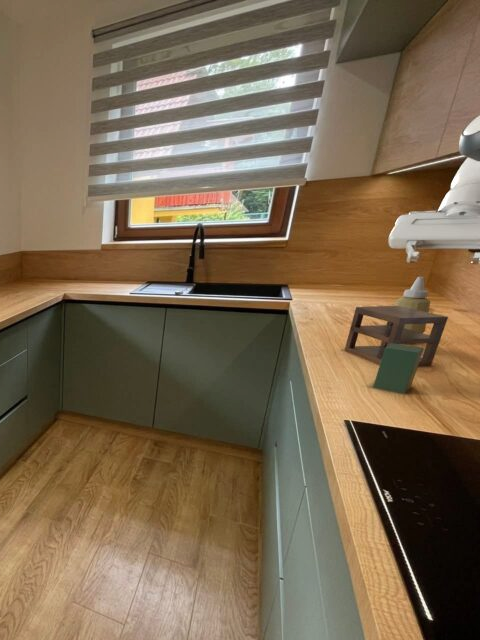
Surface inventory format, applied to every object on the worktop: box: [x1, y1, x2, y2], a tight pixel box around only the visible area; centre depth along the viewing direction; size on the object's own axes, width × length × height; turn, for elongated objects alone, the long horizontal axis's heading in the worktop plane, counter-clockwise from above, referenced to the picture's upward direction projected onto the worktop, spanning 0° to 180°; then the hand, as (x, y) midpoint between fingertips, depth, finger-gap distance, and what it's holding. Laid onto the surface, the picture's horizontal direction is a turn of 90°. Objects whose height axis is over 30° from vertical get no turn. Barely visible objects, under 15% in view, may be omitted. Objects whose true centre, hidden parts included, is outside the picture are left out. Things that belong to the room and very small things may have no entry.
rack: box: [344, 305, 449, 367], centre depth 107 cm, size 10×14×12 cm
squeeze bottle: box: [385, 276, 431, 334], centre depth 119 cm, size 8×8×18 cm
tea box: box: [372, 343, 425, 395], centre depth 90 cm, size 5×5×9 cm
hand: (442, 261), depth 89 cm, fingers open, 8 cm apart
